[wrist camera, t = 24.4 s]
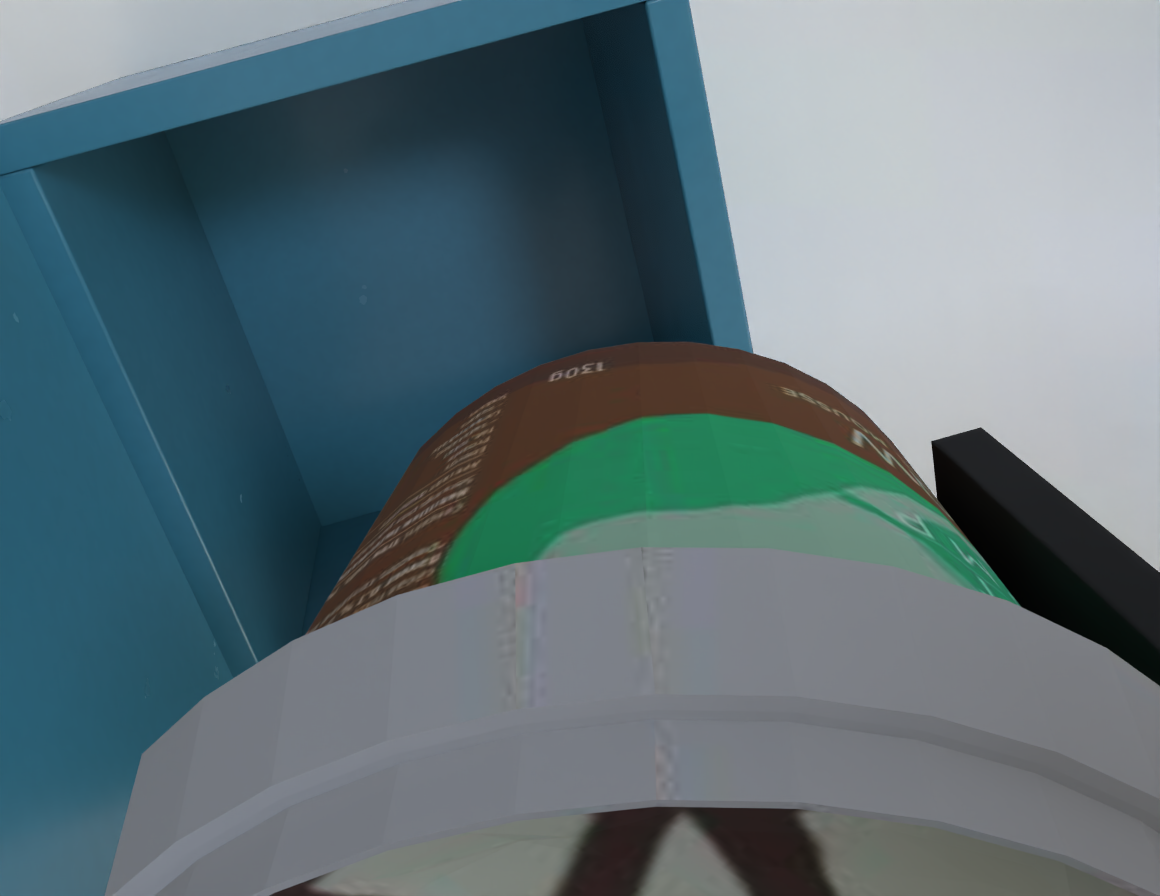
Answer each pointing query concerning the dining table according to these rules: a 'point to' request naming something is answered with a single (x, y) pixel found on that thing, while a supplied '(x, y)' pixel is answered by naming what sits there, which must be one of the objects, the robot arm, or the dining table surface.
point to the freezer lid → (77, 605)
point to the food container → (660, 676)
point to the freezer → (364, 258)
